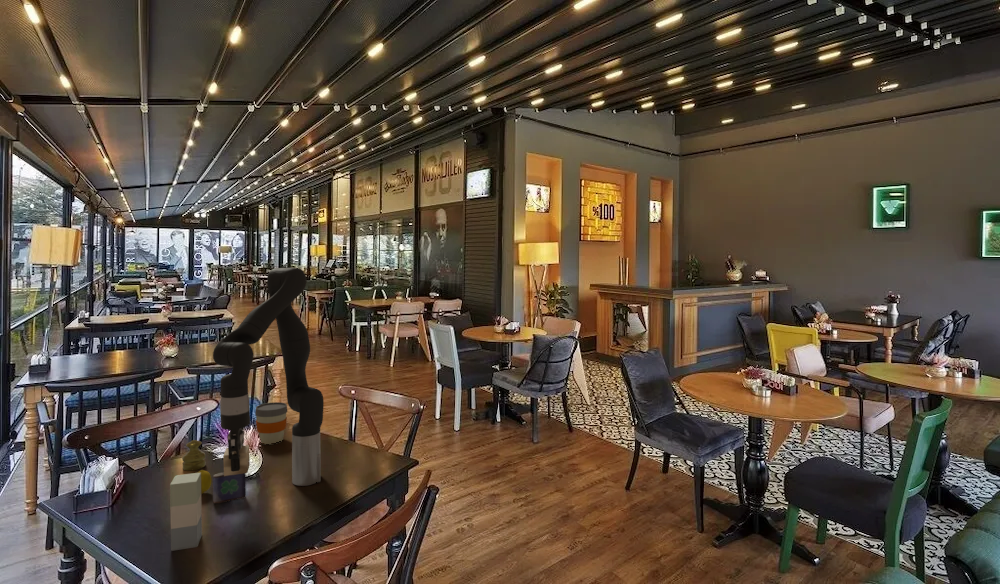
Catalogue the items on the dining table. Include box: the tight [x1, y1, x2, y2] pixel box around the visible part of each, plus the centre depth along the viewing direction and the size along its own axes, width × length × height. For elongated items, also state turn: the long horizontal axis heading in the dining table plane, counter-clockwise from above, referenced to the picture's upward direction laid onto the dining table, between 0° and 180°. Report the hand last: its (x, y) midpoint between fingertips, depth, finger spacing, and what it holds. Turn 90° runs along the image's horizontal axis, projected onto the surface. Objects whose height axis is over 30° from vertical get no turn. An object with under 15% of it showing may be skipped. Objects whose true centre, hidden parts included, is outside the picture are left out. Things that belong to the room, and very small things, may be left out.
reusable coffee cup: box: [254, 401, 288, 445], centre depth 212 cm, size 13×13×15 cm
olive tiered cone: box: [181, 439, 207, 472], centre depth 184 cm, size 7×7×10 cm
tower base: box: [170, 514, 203, 552], centre depth 135 cm, size 6×6×6 cm
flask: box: [212, 471, 247, 504], centre depth 160 cm, size 9×3×11 cm, turn 121°
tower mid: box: [170, 494, 203, 530], centre depth 135 cm, size 6×6×6 cm
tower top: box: [169, 472, 202, 507], centre depth 134 cm, size 6×6×6 cm
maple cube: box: [222, 444, 251, 476], centre depth 145 cm, size 6×6×6 cm
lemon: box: [196, 469, 213, 495], centre depth 163 cm, size 6×6×8 cm
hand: (237, 465), depth 146 cm, fingers closed on maple cube, 6 cm apart
